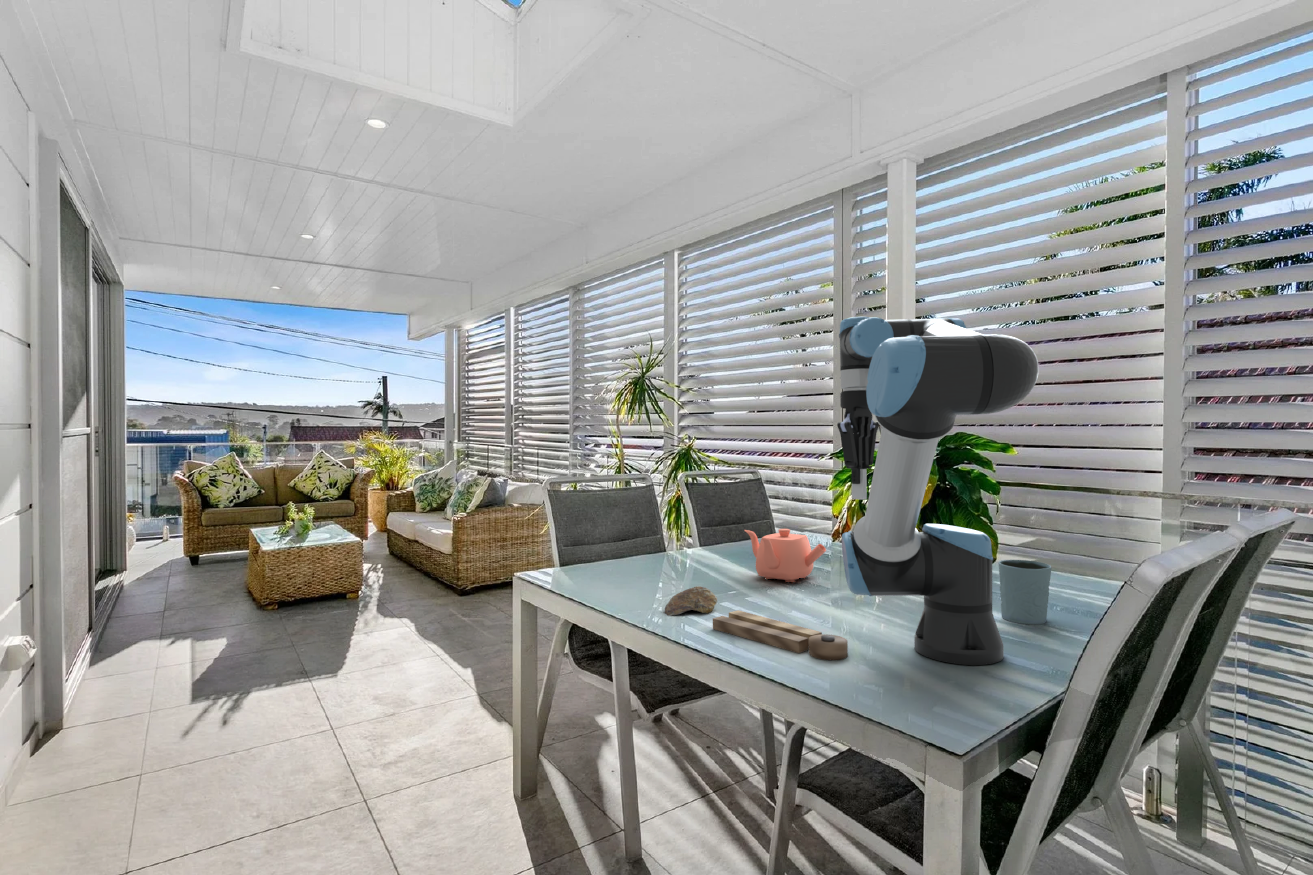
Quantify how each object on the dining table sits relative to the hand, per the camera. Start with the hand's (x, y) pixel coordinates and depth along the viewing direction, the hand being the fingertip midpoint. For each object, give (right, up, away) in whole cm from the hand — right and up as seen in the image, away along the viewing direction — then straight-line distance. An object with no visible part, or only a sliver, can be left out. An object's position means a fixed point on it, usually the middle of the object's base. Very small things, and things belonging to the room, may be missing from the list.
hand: (859, 498), depth 149 cm
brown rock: (-36, -27, +11) cm, 47 cm away
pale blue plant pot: (+36, -26, 0) cm, 44 cm away
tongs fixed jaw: (-20, -27, -13) cm, 36 cm away
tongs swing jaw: (-20, -26, -9) cm, 34 cm away
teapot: (-9, -26, +43) cm, 51 cm away
